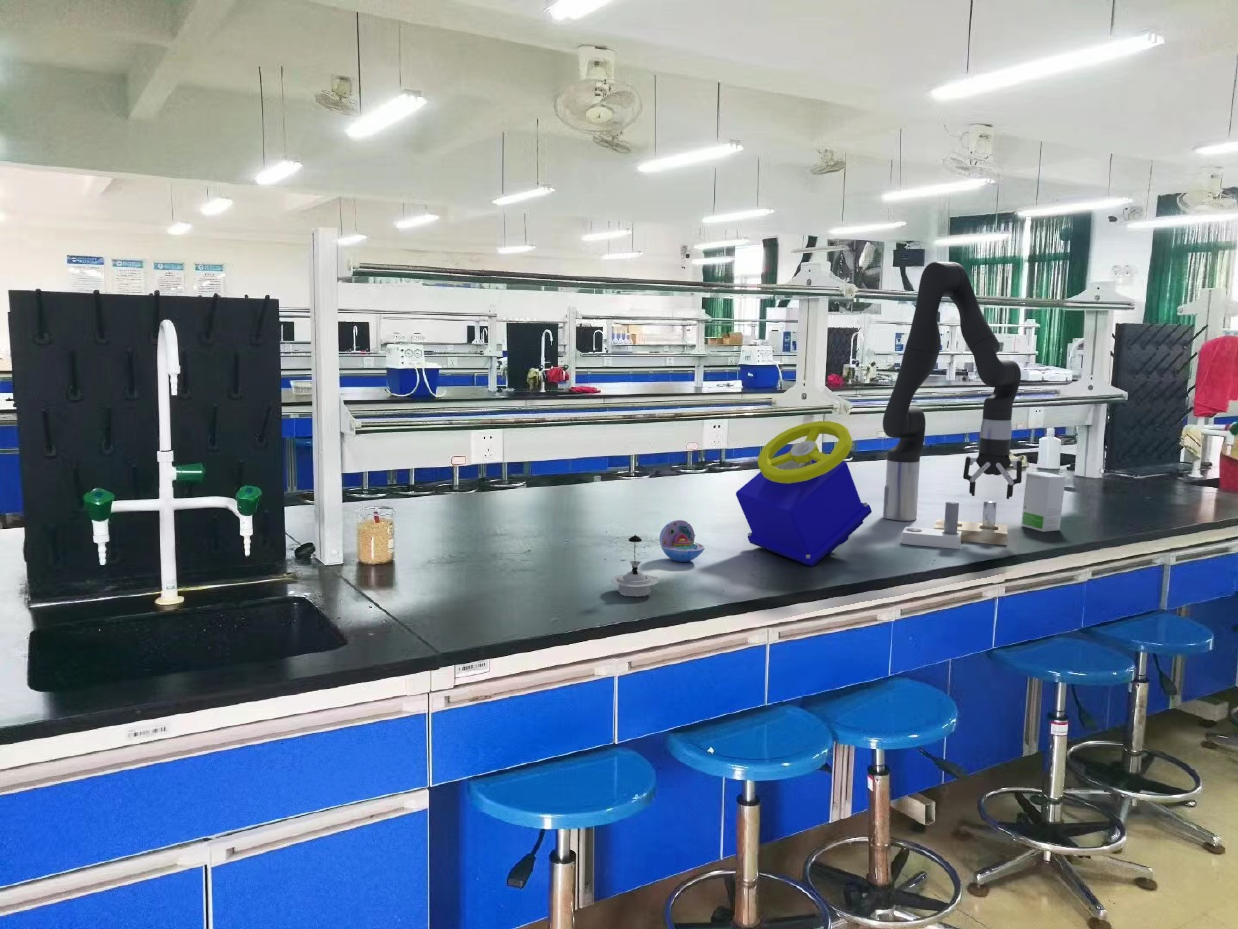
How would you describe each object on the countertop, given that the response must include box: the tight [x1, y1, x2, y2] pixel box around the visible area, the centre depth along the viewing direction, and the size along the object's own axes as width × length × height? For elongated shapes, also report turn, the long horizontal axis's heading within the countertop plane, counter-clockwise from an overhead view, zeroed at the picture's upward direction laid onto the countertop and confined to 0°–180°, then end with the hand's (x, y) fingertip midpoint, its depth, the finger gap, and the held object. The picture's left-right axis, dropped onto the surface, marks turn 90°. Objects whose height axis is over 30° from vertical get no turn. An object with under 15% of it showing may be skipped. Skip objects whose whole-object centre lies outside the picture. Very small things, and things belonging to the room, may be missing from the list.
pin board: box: [933, 519, 1008, 546], centre depth 242 cm, size 18×12×3 cm, turn 67°
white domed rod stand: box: [610, 534, 660, 595], centre depth 186 cm, size 12×10×10 cm
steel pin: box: [981, 500, 998, 530], centre depth 240 cm, size 3×3×10 cm
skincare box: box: [1020, 471, 1066, 533], centre depth 253 cm, size 8×7×16 cm
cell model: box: [658, 519, 705, 563], centre depth 213 cm, size 10×12×10 cm
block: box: [901, 501, 962, 550], centre depth 234 cm, size 14×8×11 cm, turn 67°
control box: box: [735, 420, 873, 568], centre depth 217 cm, size 26×27×30 cm
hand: (990, 497), depth 239 cm, fingers open, 8 cm apart
